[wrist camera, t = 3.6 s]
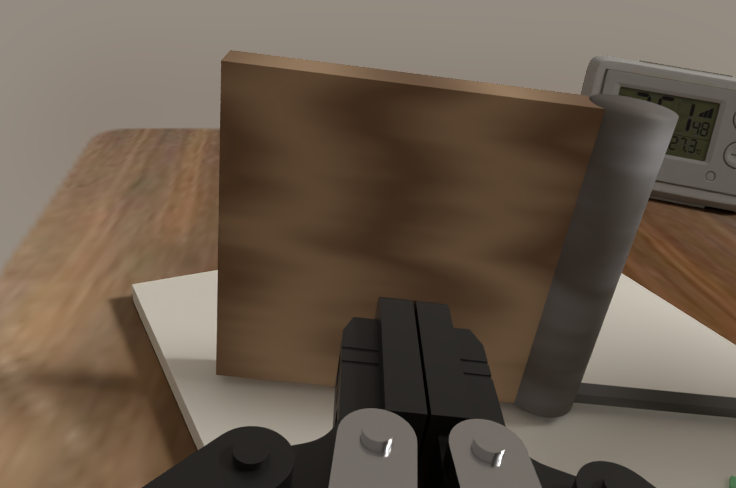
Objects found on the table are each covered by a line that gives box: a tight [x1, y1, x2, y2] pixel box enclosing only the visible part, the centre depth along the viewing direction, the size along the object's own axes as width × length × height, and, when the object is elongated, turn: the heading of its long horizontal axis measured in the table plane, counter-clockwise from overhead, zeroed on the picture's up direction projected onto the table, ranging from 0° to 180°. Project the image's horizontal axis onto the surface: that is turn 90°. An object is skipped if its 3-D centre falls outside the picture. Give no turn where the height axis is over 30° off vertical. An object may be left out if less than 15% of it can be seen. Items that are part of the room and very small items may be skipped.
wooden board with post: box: [216, 50, 736, 418], centre depth 25 cm, size 26×3×13 cm, turn 90°
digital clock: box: [581, 56, 736, 211], centre depth 55 cm, size 16×9×11 cm, turn 66°
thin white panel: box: [132, 270, 736, 488], centre depth 29 cm, size 28×28×1 cm
